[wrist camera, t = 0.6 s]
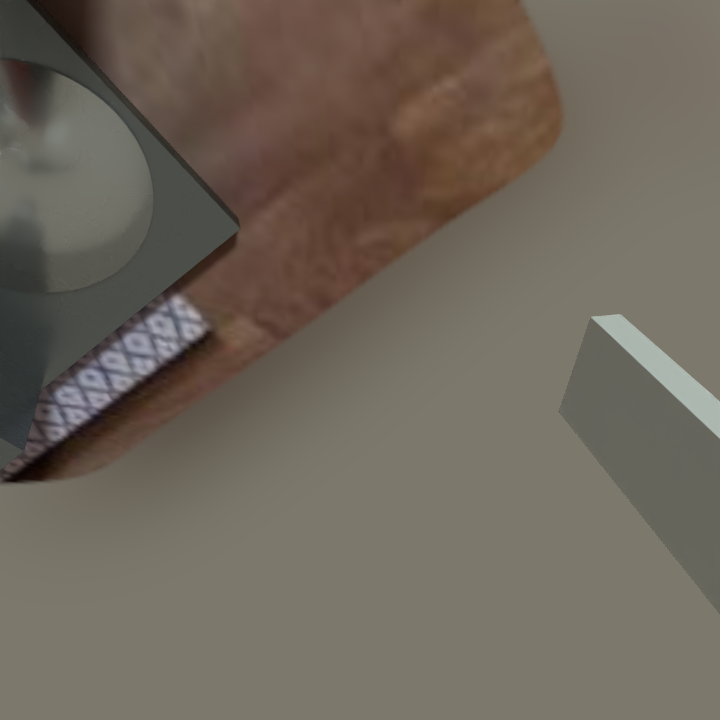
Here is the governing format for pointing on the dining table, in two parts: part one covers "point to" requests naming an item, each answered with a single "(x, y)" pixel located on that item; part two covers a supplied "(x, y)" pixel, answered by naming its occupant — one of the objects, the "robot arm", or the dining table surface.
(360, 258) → the dining table surface
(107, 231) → the press
